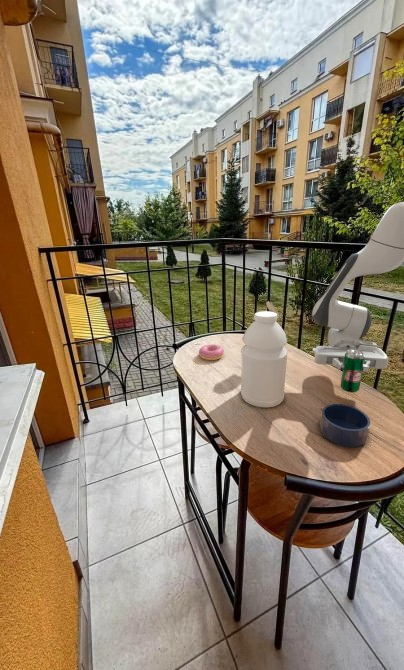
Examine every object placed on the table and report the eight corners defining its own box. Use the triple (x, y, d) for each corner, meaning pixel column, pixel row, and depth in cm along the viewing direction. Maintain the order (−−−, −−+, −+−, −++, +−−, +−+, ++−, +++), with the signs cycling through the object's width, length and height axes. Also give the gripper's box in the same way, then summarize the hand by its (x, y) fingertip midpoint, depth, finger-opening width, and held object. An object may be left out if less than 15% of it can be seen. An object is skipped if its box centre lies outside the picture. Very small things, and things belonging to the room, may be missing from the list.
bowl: (355, 418, 79) (358, 403, 77) (375, 447, 69) (379, 431, 67) (314, 418, 80) (316, 403, 78) (328, 446, 70) (330, 430, 68)
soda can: (342, 392, 82) (347, 355, 78) (338, 383, 87) (343, 348, 83) (361, 394, 81) (367, 356, 77) (356, 385, 86) (362, 349, 81)
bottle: (289, 391, 94) (295, 310, 84) (277, 413, 83) (283, 323, 73) (249, 381, 101) (251, 305, 91) (233, 401, 90) (233, 317, 80)
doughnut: (220, 362, 116) (220, 353, 114) (195, 360, 119) (194, 351, 118) (226, 352, 125) (226, 343, 124) (203, 350, 129) (202, 341, 127)
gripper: (312, 339, 95) (315, 356, 83) (381, 343, 89) (395, 361, 77) (311, 356, 97) (314, 374, 85) (378, 360, 91) (391, 382, 79)
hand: (353, 368), depth 81 cm, fingers closed on soda can, 5 cm apart
